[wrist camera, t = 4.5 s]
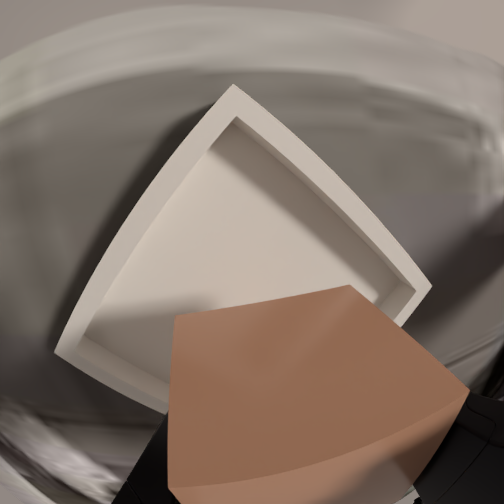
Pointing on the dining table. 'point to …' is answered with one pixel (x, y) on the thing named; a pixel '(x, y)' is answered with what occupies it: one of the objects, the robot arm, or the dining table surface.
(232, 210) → the tray
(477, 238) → the dining table surface
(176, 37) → the dining table surface
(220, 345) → the clay block
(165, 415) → the robot arm
